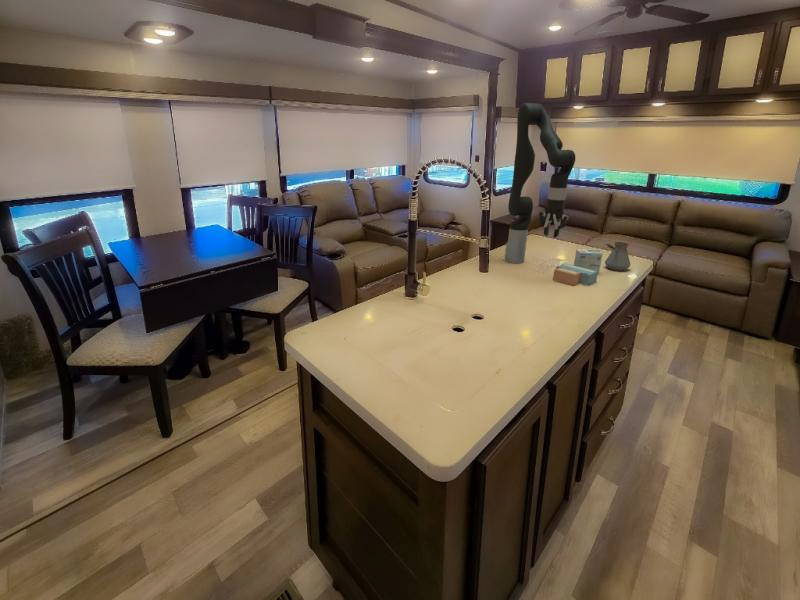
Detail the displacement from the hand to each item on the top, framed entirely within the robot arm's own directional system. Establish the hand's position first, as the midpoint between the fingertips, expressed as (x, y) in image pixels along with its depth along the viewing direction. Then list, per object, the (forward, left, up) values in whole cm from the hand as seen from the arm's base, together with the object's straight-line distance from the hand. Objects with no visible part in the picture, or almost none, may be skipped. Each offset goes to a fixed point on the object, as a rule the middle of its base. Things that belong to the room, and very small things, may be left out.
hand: (550, 236), depth 187 cm
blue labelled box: (+12, +7, -19) cm, 23 cm away
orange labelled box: (+11, 0, -19) cm, 22 cm away
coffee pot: (+17, +33, -19) cm, 42 cm away
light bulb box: (+10, +21, -20) cm, 30 cm away
